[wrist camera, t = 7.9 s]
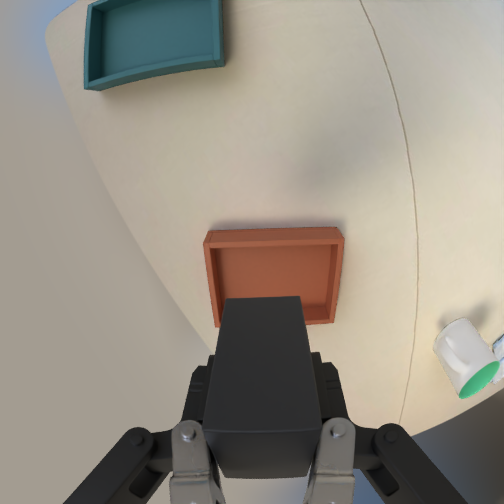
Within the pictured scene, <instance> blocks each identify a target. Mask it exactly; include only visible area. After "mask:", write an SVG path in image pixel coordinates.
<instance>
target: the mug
mask: <svg viewBox="0 0 504 504" xmlns="http://www.w3.org/2000/svg"><path fill="white" fill-rule="evenodd" d="M433 351H434V353H435V354H436V356H437V358H438V360H439V361H440V363H441V365H442V366H443V368H444V370H445V372H446V374H447V375H448V377H449V379H450V381H451V383H452V385H453V387H454V388H455V390H456V392H457V394H458V396H459V398H461V399H464V398H468V397H470V396H472V395H474V394H476V393H477V392H478V391H480V390H481V389H482V388H484V387H485V386H486V385H487V384H488V383H489V382H490V381H491V380H492V378H493V377H494V376H495V375H496V373H497V371H498V369H499V367H500V362H499V360H498V359H497V357H496V356H495V355H494V353H493V352H492V350H491V349H490V348H489V346H488V345H487V343H486V342H485V341H484V339H483V338H482V337H481V335H480V334H479V333H478V331H477V330H476V329H475V328H474V326H473V325H472V324H471V322H470V321H469V320H468V319H466V318H461V319H457V320H455V321H453V322H452V323H450V324H449V325H448V326H446V327H445V328H444V329H443V330H442V331H441V333H440V334H439V335H438V337H437V338H436V340H435V342H434V345H433Z"/></svg>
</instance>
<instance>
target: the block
mask: <svg viewBox="0 0 504 504" xmlns="http://www.w3.org/2000/svg"><path fill="white" fill-rule="evenodd" d="M322 428H323V427H322V420H321V413H320V407H319V400H318V394H317V387H316V381H315V375H314V369H313V363H312V357H311V352H310V346H309V340H308V335H307V329H306V324H305V319H304V313H303V308H302V303H301V298H300V296H279V297H253V298H226V300H225V304H224V310H223V315H222V320H221V325H220V330H219V336H218V341H217V346H216V352H215V357H214V362H213V368H212V373H211V379H210V384H209V390H208V395H207V401H206V407H205V412H204V418H203V424H202V432H203V434H204V436H205V439H206V441H207V443H208V445H209V447H210V449H211V451H212V453H213V455H214V457H215V459H216V461H217V463H218V465H219V467H220V469H221V471H222V473H223V475H224V477H226V478H243V479H270V478H271V479H272V478H273V479H274V478H294V477H304V476H307V473H308V470H309V468H310V465H311V462H312V459H313V456H314V453H315V450H316V447H317V444H318V441H319V437H320V434H321V431H322Z"/></svg>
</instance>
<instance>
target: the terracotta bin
mask: <svg viewBox="0 0 504 504" xmlns="http://www.w3.org/2000/svg"><path fill="white" fill-rule="evenodd" d="M203 247H204V254H205V262H206V269H207V277H208V284H209V291H210V297H211V304H212V311H213V317H214V323H215V327H220V325H221V320H222V315H223V310H224V304H225V300H226V298H253V297H279V296H300V298H301V303H302V308H303V313H304V319H305V324H306V325H312V324H326V323H334V318H335V312H336V305H337V298H338V291H339V284H340V276H341V268H342V259H343V249H344V237H343V236H342V234H341V233H340V231H339V230H338V229H337V227H308V228H271V229H242V230H217V231H208V233H207V235H206V238H205V240H204V242H203Z"/></svg>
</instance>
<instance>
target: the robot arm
mask: <svg viewBox="0 0 504 504" xmlns="http://www.w3.org/2000/svg"><path fill="white" fill-rule="evenodd" d="M214 357H215V355H210V356H209V359H208V364H207V366H198V367H197V368H196V370H195V371H194V372H193V373H192V377H191V381H190V385H189V389H188V394H187V398H186V402H185V407H184V410H183V415H182V419H181V421H180V422H179V424H177V425H176V426H175V427H174V428H173V429H171V430H168V431H163V432H156V433H150V432H149V431H148V430H147V429H145V428H141V427H136V428H132V429H130V430H128V431H127V432H126V433H125V434H124V435H123V436H122V438H121V439H120V440H119V441H118V442H117V443H116V444H115V446H114V447H113V448H112V449H111V450H110V451H109V452H108V454H107V455H106V456H105V457H104V458H103V459H102V461H101V462H100V463H99V464H98V465H97V466H96V467H95V468H94V469H93V471H92V472H91V473H90V474H89V475H88V476H87V477H86V479H85V480H84V481H83V482H82V483H81V484H80V485H79V486H78V487H77V489H76V490H75V491H74V492H73V493H72V494H71V496H69V498H68V499H67V500H66V501H65V502H64V503H63V504H146V503H147V502H148V500H149V499H150V498H151V496H152V495H153V494H154V493H155V491H156V490H157V489H158V487H159V486H160V485H161V483H162V482H163V480H164V479H165V478H166V476H167V475H168V474H169V472H171V471H173V476H172V477H171V478H170V482H169V487H170V501H171V504H226V502H225V498H224V495H223V492H222V487H221V481H220V475H219V469H218V463H217V461H216V459H215V457H214V455H213V453H212V451H211V449H210V447H209V445H208V443H207V441H206V439H205V436H204V434H203V432H202V424H203V418H204V412H205V407H206V401H207V395H208V390H209V384H210V379H211V373H212V368H213V362H214ZM311 357H312V363H313V369H314V375H315V381H316V387H317V394H318V400H319V407H320V413H321V420H322V427H323V428H322V431H321V434H320V437H319V441H318V444H317V447H316V450H315V453H314V456H313V459H312V464H311V469H310V474H309V480H308V485H307V489H306V493H305V497H304V500H303V504H352V503H353V496H354V487H355V477H354V475H353V468H356V469H360V470H361V471H362V472H363V474H364V475H365V477H366V478H367V480H368V481H369V482H370V484H371V485H372V486H373V488H374V489H375V491H376V492H377V493H378V494H379V496H380V497H381V499H382V500H383V501H384V503H385V504H468V503H467V502H466V501H465V499H464V498H463V497H462V496H461V495H460V494H459V493H458V491H457V490H456V489H455V488H454V487H453V486H452V484H451V483H450V482H449V481H448V480H447V479H446V477H445V476H444V475H443V474H442V473H441V472H440V470H439V469H438V468H437V467H436V466H435V465H434V464H433V463H432V461H431V460H430V459H429V458H428V457H427V455H426V454H425V453H424V452H423V451H422V449H421V448H420V447H419V446H418V445H417V444H416V443H415V441H414V440H413V439H412V438H411V437H410V436H409V434H408V433H407V432H406V431H405V430H404V429H403V428H402V427H401V426H400V425H398V424H394V423H389V424H385V425H382V426H381V427H380V428H379V429H373V428H364V427H360V426H358V425H356V424H354V423H353V422H352V421H351V420H350V419H349V417H348V413H347V409H346V404H345V400H344V396H343V391H342V389H341V383H340V379H339V375H338V370H337V369H336V368H335V366H334V365H333V364H332V363H331V362H326V363H322V361H321V356H320V353H319V352H311Z"/></svg>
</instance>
